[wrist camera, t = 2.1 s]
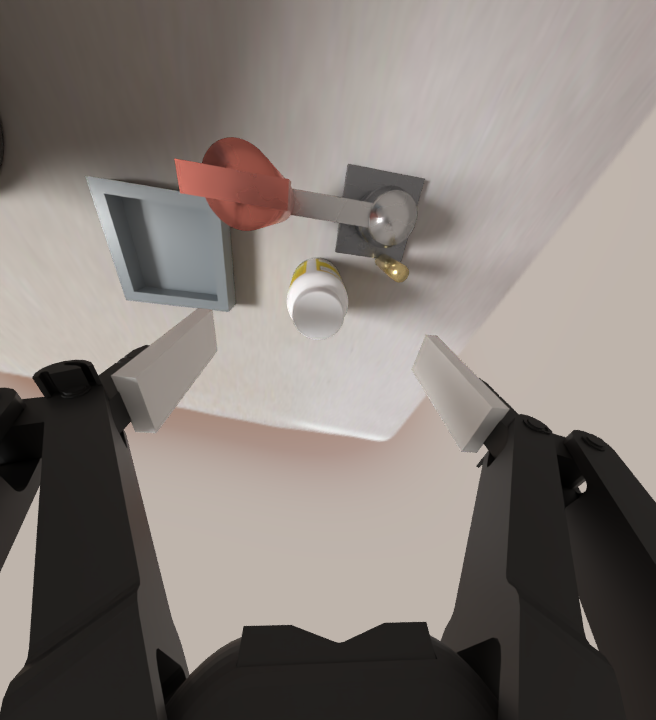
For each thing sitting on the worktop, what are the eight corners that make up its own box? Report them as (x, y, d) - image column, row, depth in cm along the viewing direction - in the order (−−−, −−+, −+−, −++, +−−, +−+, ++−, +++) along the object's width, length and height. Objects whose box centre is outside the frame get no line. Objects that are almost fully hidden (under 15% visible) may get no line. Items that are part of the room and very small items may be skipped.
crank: (416, 196, 18) (520, 178, 9) (401, 246, 20) (476, 275, 11) (248, 165, 17) (165, 106, 7) (250, 222, 19) (186, 232, 9)
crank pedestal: (333, 260, 25) (339, 274, 19) (347, 165, 20) (359, 147, 15) (396, 269, 25) (418, 285, 20) (422, 179, 21) (459, 168, 16)
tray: (141, 292, 25) (126, 300, 23) (108, 179, 20) (84, 175, 18) (235, 303, 27) (228, 311, 24) (228, 199, 21) (218, 197, 19)
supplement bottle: (297, 309, 27) (290, 351, 19) (287, 260, 24) (273, 286, 16) (343, 303, 27) (355, 343, 19) (338, 253, 24) (350, 274, 16)
